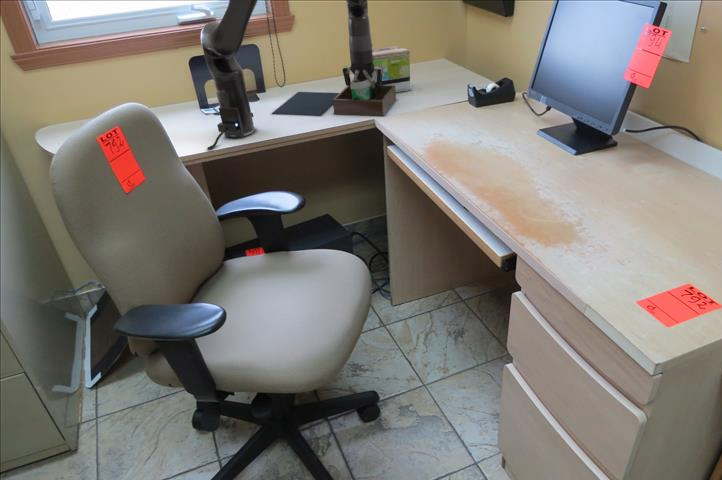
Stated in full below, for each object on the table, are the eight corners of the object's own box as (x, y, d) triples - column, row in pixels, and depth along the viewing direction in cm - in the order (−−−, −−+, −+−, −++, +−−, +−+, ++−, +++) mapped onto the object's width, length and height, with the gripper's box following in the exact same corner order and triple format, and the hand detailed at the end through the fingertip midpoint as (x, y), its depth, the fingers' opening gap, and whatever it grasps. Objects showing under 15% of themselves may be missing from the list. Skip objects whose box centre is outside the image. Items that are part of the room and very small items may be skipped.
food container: (370, 112, 190) (367, 83, 185) (352, 112, 192) (349, 83, 186) (378, 101, 200) (376, 72, 195) (361, 100, 202) (359, 72, 196)
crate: (383, 116, 187) (382, 101, 184) (334, 114, 191) (332, 99, 188) (396, 99, 201) (395, 85, 198) (349, 98, 205) (348, 84, 202)
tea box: (374, 97, 204) (371, 55, 196) (364, 90, 212) (361, 49, 204) (411, 90, 209) (409, 49, 201) (400, 83, 217) (398, 44, 208)
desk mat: (320, 115, 190) (320, 114, 190) (272, 114, 194) (272, 112, 194) (342, 94, 209) (342, 93, 209) (298, 92, 213) (298, 91, 213)
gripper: (336, 50, 183) (341, 100, 193) (378, 51, 180) (381, 102, 190) (343, 44, 189) (348, 94, 199) (384, 45, 186) (387, 95, 196)
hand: (364, 97), depth 194 cm, fingers closed on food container, 6 cm apart
